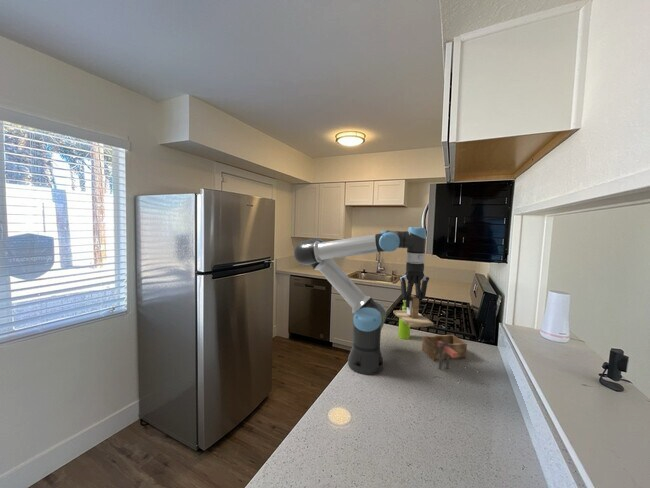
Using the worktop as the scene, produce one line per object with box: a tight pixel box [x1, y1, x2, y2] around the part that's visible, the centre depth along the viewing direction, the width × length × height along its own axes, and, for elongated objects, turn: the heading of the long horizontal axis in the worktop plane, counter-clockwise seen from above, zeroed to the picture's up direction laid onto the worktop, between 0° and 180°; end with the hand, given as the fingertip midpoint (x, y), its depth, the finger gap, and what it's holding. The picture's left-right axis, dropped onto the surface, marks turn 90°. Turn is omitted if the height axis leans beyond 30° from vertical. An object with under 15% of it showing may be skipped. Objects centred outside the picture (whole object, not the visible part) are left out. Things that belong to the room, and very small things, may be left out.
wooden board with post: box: [393, 294, 434, 328], centre depth 122 cm, size 17×11×11 cm, turn 10°
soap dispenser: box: [397, 299, 411, 340], centre depth 145 cm, size 6×7×20 cm
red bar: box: [437, 341, 458, 358], centre depth 114 cm, size 2×11×2 cm, turn 10°
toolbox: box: [421, 334, 468, 371], centre depth 124 cm, size 18×17×12 cm
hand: (412, 314), depth 122 cm, fingers closed on wooden board with post, 3 cm apart
